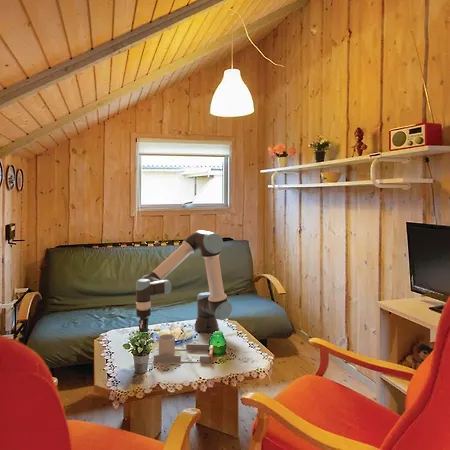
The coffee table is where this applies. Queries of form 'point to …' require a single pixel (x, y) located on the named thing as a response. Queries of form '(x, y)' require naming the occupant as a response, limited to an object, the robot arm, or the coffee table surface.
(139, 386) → the coffee table surface
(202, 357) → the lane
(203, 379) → the coffee table surface
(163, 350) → the mug
